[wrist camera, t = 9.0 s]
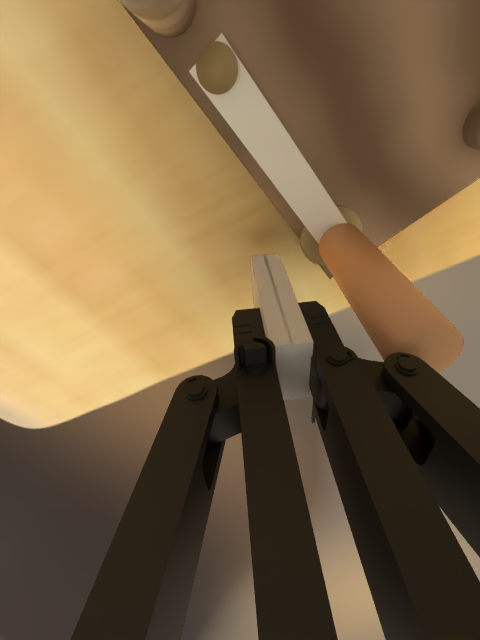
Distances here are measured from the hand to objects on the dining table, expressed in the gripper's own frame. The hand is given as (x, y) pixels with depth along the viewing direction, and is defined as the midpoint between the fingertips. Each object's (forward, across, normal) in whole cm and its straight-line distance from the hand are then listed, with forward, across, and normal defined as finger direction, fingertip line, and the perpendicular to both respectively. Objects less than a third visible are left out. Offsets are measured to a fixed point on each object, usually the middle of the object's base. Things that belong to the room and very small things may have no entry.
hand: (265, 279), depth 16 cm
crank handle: (+3, +2, +4) cm, 6 cm away
